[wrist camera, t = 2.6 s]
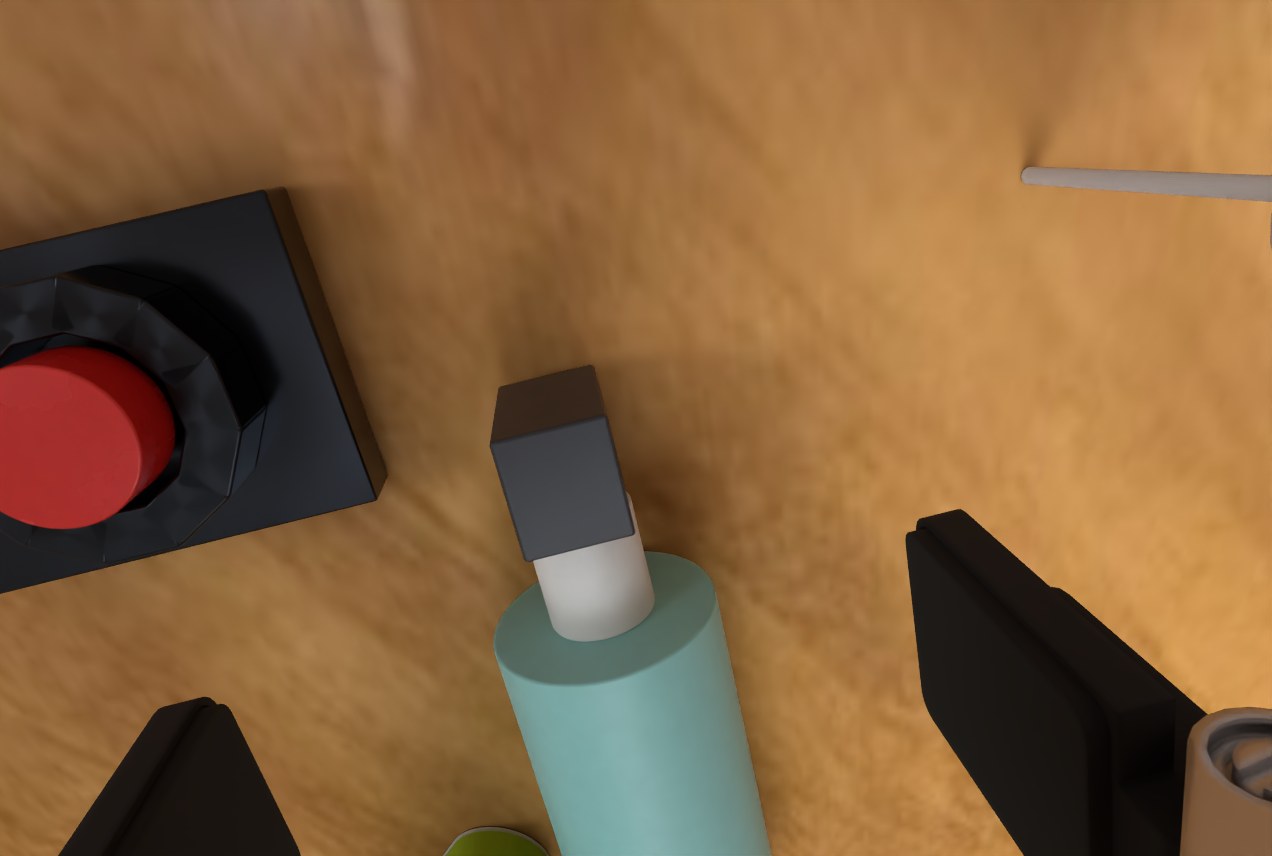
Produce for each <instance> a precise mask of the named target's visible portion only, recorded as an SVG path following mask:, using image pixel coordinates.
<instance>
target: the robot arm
mask: <svg viewBox="0 0 1272 856" xmlns="http://www.w3.org/2000/svg"><path fill="white" fill-rule="evenodd" d="M906 551H907V560H908V569H909V578H910V587H911V596H912V606H913V615H914V624H915V633H916V642H917V651H918V660H919V669H920V678H921V688H922V694H923V698H924V701H925V704H926V707H927V709H928V712H929V714H930V716H931V717H932V719H933V721H934V722H935V724H936V725H937V727H938V728H939V730H940V731H941V733H942V734H943V736H944V737H945V739H946V740H947V742H948V743H949V745H950V746H951V748H952V749H953V751H954V752H955V754H956V755H957V757H958V758H959V759H960V761H961V762H962V764H963V765H964V767H965V768H966V770H967V771H968V773H969V774H970V776H971V777H972V779H973V780H974V782H975V783H976V785H977V786H978V788H979V789H980V791H981V792H982V794H983V795H984V797H985V798H986V800H987V801H988V803H989V804H990V806H991V807H992V809H993V810H994V812H995V813H996V815H997V816H998V818H999V819H1000V821H1001V822H1002V824H1003V825H1004V827H1005V828H1006V829H1007V831H1008V832H1009V834H1010V835H1011V837H1012V838H1013V840H1014V841H1015V843H1016V844H1017V846H1018V847H1019V849H1020V850H1021V852H1022V853H1023V855H1024V856H1272V709H1266V708H1256V707H1242V708H1229V709H1223V710H1220V711H1217V712H1214V713H1211V714H1207V713H1205V712H1204V711H1203V710H1202V709H1201V708H1200V707H1198V706H1197V705H1196V704H1195V703H1194V702H1193V701H1192V700H1190V699H1189V698H1188V697H1187V696H1186V695H1185V694H1183V693H1182V692H1181V691H1180V690H1179V689H1178V688H1177V687H1175V686H1174V685H1173V684H1172V683H1171V682H1170V681H1168V680H1167V679H1166V678H1165V677H1164V676H1163V675H1162V674H1160V673H1159V672H1158V671H1157V670H1156V669H1155V668H1153V667H1152V666H1151V665H1150V664H1149V663H1148V662H1147V661H1145V660H1144V659H1143V658H1142V657H1141V656H1140V655H1138V654H1137V653H1136V652H1135V651H1134V650H1133V649H1132V648H1130V647H1129V646H1128V645H1127V644H1126V643H1125V642H1123V641H1122V640H1121V639H1120V638H1119V637H1118V636H1117V635H1115V634H1114V633H1113V632H1112V631H1111V630H1110V629H1108V628H1107V627H1106V626H1105V625H1104V624H1103V623H1102V622H1100V621H1099V620H1098V619H1097V618H1096V617H1095V616H1093V615H1092V614H1091V613H1090V612H1089V611H1088V610H1087V609H1085V608H1084V607H1083V606H1082V605H1081V604H1080V603H1078V602H1077V601H1076V600H1075V599H1074V598H1073V597H1072V596H1070V595H1069V594H1068V593H1066V592H1065V591H1063V590H1062V589H1060V588H1055V587H1050V586H1049V585H1047V584H1046V583H1045V582H1044V581H1043V580H1042V579H1041V578H1039V577H1038V576H1037V575H1036V574H1035V573H1034V572H1033V571H1032V570H1030V569H1029V568H1028V567H1027V566H1026V565H1025V564H1024V563H1022V562H1021V561H1020V560H1019V559H1018V558H1017V557H1016V556H1015V555H1013V554H1012V553H1011V552H1010V551H1009V550H1008V549H1007V548H1006V547H1004V546H1003V545H1002V544H1001V543H1000V542H999V541H998V540H996V539H995V538H994V537H993V536H992V535H991V534H990V533H989V532H987V531H986V530H985V529H984V528H983V527H982V526H981V525H980V524H978V523H977V522H976V521H975V520H974V519H973V518H972V517H970V516H969V515H968V514H967V513H966V512H964V511H963V510H961V509H957V510H953V511H949V512H945V513H941V514H937V515H933V516H929V517H925V518H921V519H919V520H918V521H917V525H916V531H913V532H909V533H907V535H906ZM58 856H301V855H300V852H299V849H298V847H297V844H296V842H295V840H294V838H293V836H292V834H291V832H290V830H289V828H288V826H287V824H286V822H285V820H284V818H283V816H282V814H281V812H280V810H279V808H278V806H277V804H276V802H275V800H274V798H273V795H272V793H271V791H270V789H269V787H268V785H267V783H266V781H265V779H264V777H263V775H262V773H261V771H260V769H259V767H258V765H257V763H256V761H255V759H254V757H253V755H252V753H251V751H250V749H249V746H248V744H247V742H246V740H245V738H244V736H243V734H242V732H241V730H240V728H239V726H238V724H237V722H236V720H235V718H234V716H233V714H232V712H231V710H230V709H229V707H227V706H226V705H224V704H218V705H217V704H216V703H215V701H213V700H212V699H211V698H209V697H201V698H197V699H193V700H189V701H185V702H181V703H177V704H173V705H169V706H165V707H162V708H160V709H158V710H157V711H156V712H155V713H154V714H153V716H152V717H151V719H150V720H149V722H148V723H147V725H146V726H145V728H144V729H143V731H142V732H141V734H140V735H139V737H138V738H137V740H136V741H135V743H134V744H133V746H132V747H131V749H130V750H129V752H128V753H127V754H126V756H125V757H124V759H123V760H122V762H121V763H120V765H119V766H118V768H117V769H116V771H115V772H114V774H113V775H112V777H111V778H110V780H109V781H108V783H107V784H106V786H105V787H104V789H103V790H102V792H101V793H100V795H99V796H98V798H97V799H96V801H95V802H94V803H93V805H92V806H91V808H90V809H89V811H88V812H87V814H86V815H85V817H84V818H83V820H82V821H81V823H80V824H79V826H78V827H77V829H76V830H75V832H74V833H73V835H72V836H71V838H70V839H69V841H68V842H67V844H66V845H65V847H64V848H63V850H62V851H61V852H60V854H59V855H58Z"/></svg>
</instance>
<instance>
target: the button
mask: <svg viewBox="0 0 1272 856" xmlns="http://www.w3.org/2000/svg"><path fill="white" fill-rule="evenodd" d="M175 436H176V433H175V422H174V418H173V414H172V411H171V408H170V406H169V403H168V401H167V400H166V398H165V396H164V394H163V393H162V391H161V390H160V388H159V387H158V386H157V385H156V383H155V382H154V381H153V380H152V379H151V378H150V377H149V376H148V375H147V374H146V373H145V372H144V371H142V370H141V369H140V368H138V367H137V366H136V365H134V364H133V363H131V362H129V361H128V360H126V359H124V358H122V357H120V356H118V355H115V354H113V353H111V352H108V351H104V350H101V349H97V348H92V347H86V346H62V347H56V348H51V349H48V350H45V351H42V352H39V353H37V354H34V355H32V356H30V357H27V358H25V359H22V360H20V361H17V362H15V363H12V364H10V365H8V366H5V367H3V368H0V511H1V512H2V513H4V514H6V515H8V516H10V517H12V518H14V519H16V520H19V521H22V522H25V523H27V524H31V525H35V526H39V527H45V528H53V529H71V528H80V527H85V526H89V525H93V524H96V523H99V522H101V521H103V520H105V519H107V518H109V517H111V516H112V515H114V514H116V513H117V512H118V511H119V510H121V509H122V508H123V507H124V506H125V505H126V504H127V503H129V502H130V501H131V500H132V499H133V498H134V497H136V496H137V495H138V494H139V493H140V492H141V491H142V490H144V489H145V488H146V487H147V486H148V485H149V484H151V483H152V482H153V481H154V480H155V479H156V478H157V477H158V476H159V475H160V474H161V473H162V472H163V471H164V469H165V468H166V466H167V464H168V463H169V461H170V458H171V456H172V454H173V450H174V445H175Z"/></svg>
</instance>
